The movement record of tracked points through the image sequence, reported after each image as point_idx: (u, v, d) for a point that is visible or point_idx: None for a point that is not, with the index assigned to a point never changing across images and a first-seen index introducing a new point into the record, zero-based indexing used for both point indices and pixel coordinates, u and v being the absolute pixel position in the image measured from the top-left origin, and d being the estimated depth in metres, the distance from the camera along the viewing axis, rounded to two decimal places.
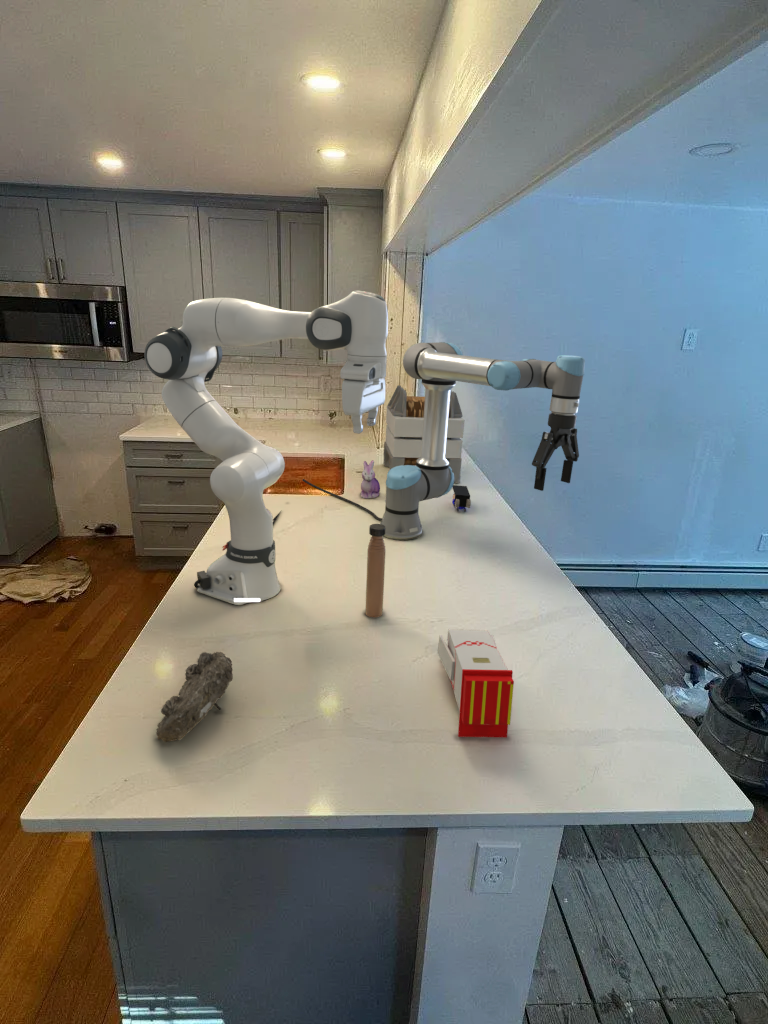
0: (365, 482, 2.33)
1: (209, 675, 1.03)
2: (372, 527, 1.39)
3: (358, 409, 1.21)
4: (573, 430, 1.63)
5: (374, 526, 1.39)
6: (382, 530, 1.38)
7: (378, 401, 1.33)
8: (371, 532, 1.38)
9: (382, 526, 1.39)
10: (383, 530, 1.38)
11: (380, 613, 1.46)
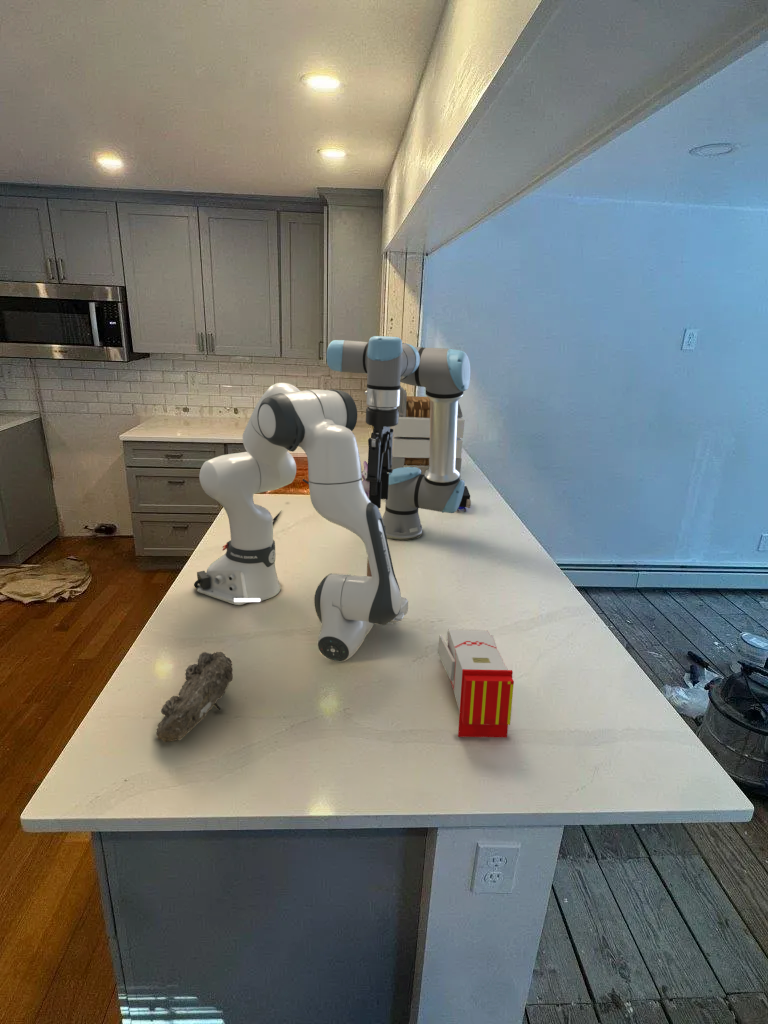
0: (365, 482, 2.33)
1: (209, 675, 1.03)
2: None
3: None
4: None
5: None
6: None
7: None
8: None
9: None
10: None
11: None
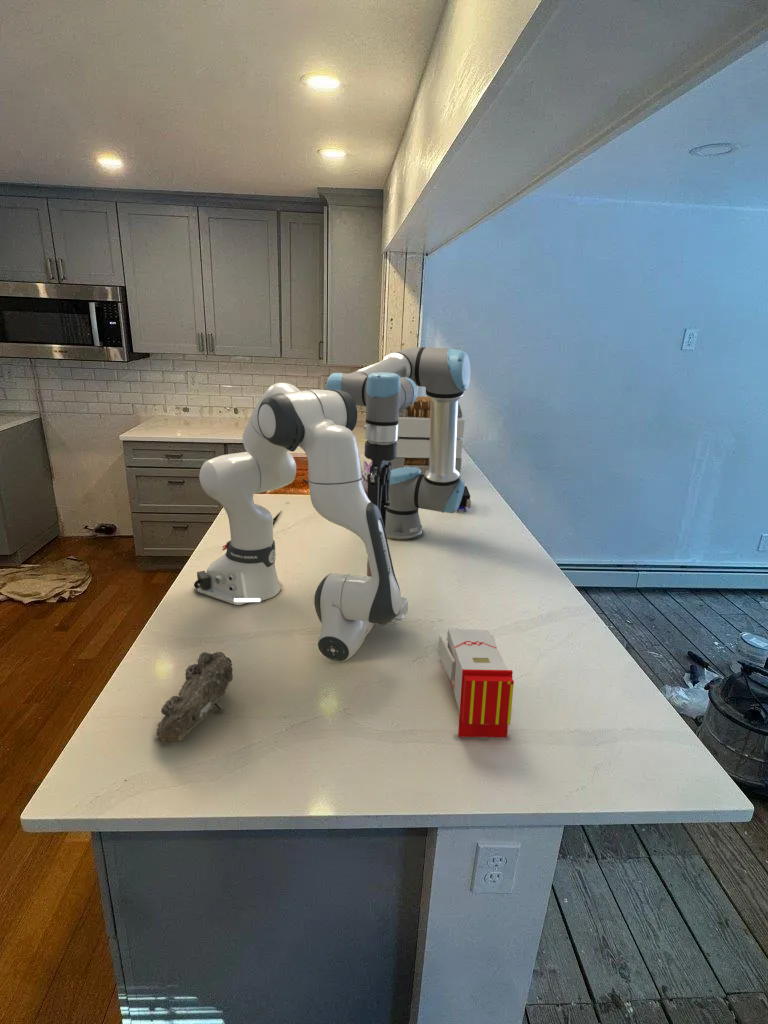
0: (365, 482, 2.33)
1: (209, 675, 1.03)
2: None
3: None
4: None
5: None
6: None
7: None
8: None
9: None
10: None
11: None
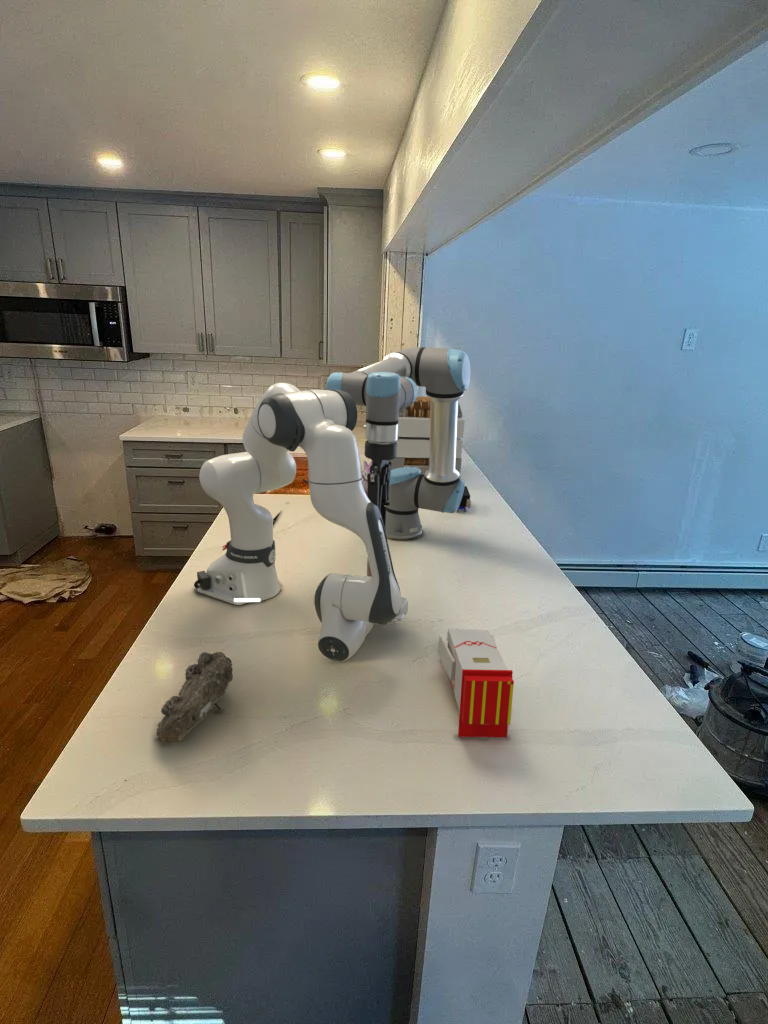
0: (365, 482, 2.33)
1: (209, 675, 1.03)
2: None
3: None
4: None
5: None
6: None
7: None
8: None
9: None
10: None
11: None
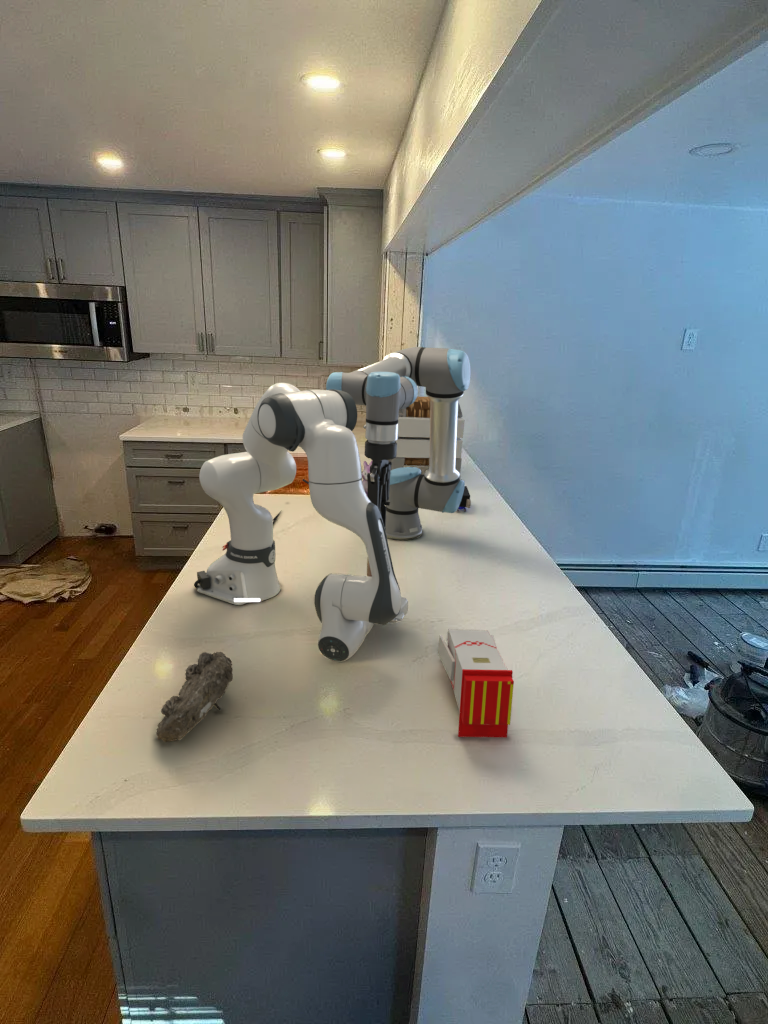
0: (365, 482, 2.33)
1: (209, 675, 1.03)
2: None
3: None
4: None
5: None
6: None
7: None
8: None
9: None
10: None
11: None
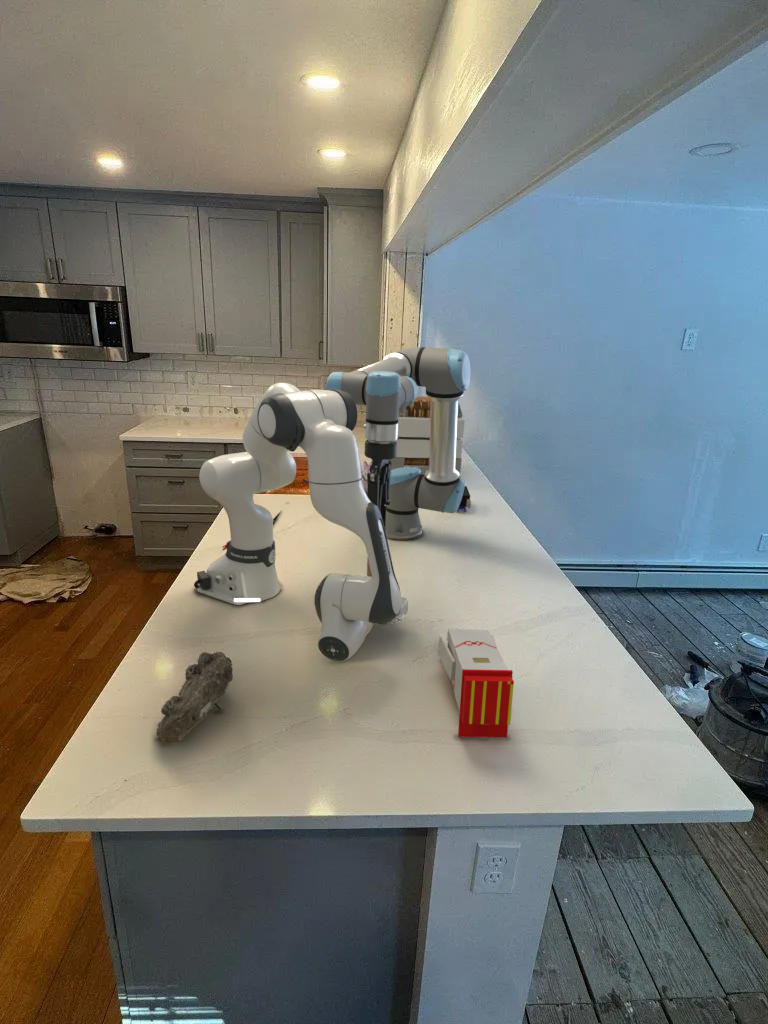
0: (365, 482, 2.33)
1: (209, 675, 1.03)
2: None
3: None
4: None
5: None
6: None
7: None
8: None
9: None
10: None
11: None
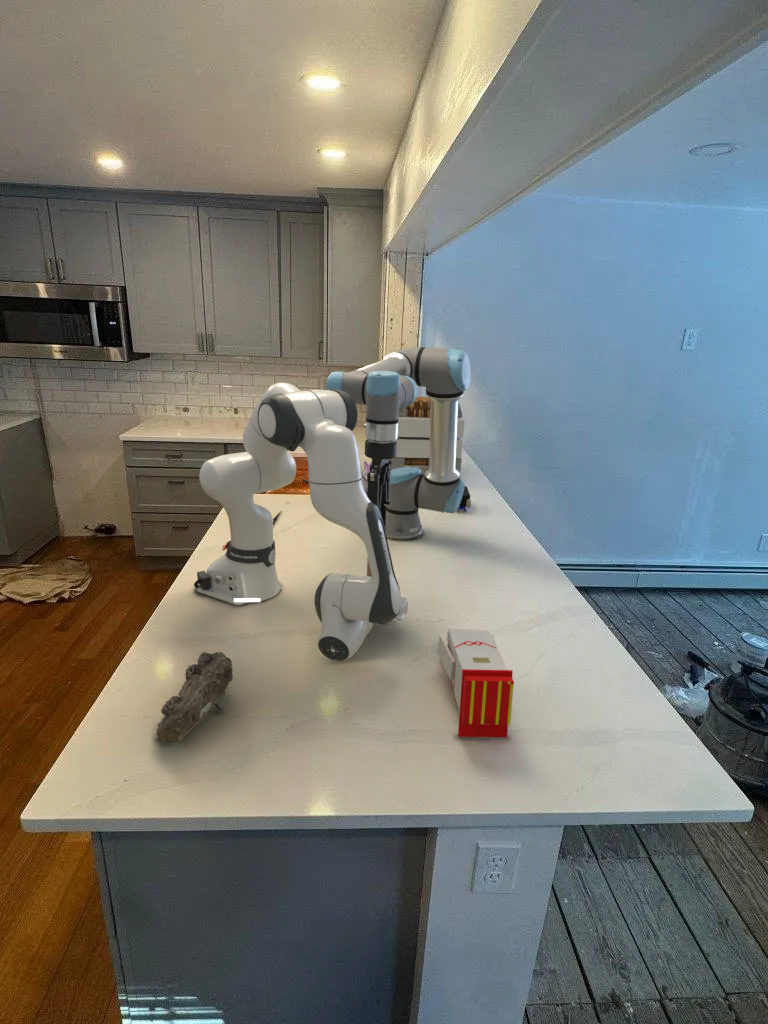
0: (365, 482, 2.33)
1: (209, 675, 1.03)
2: None
3: None
4: None
5: None
6: None
7: None
8: None
9: None
10: None
11: None
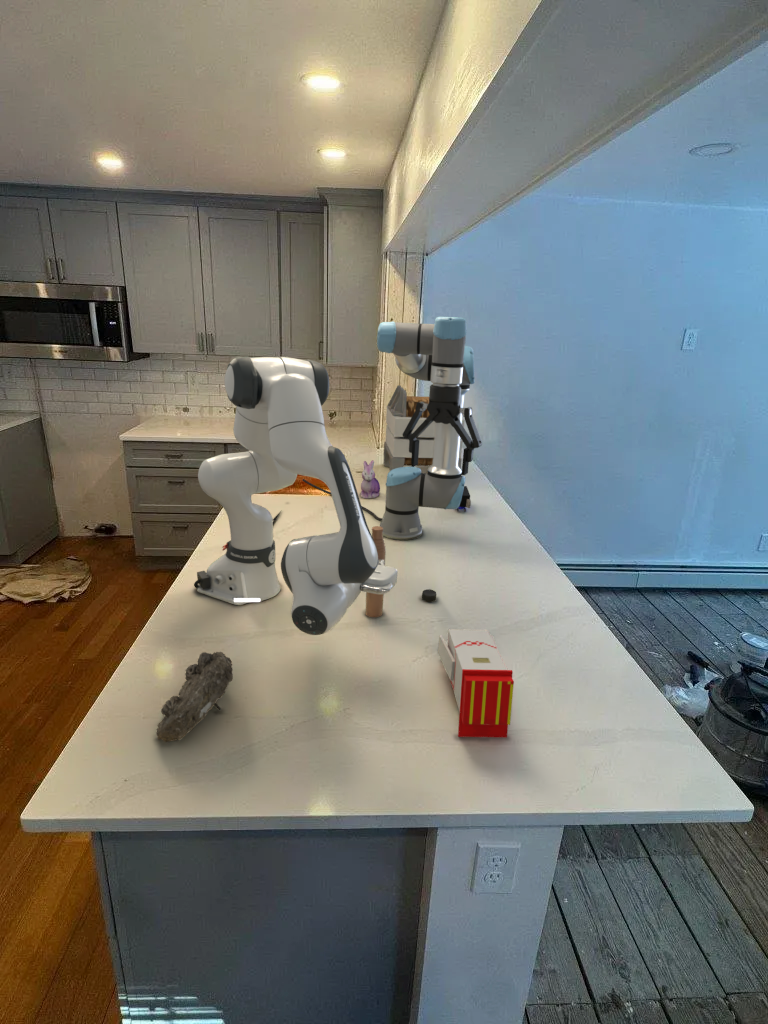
0: (365, 482, 2.33)
1: (209, 675, 1.03)
2: (433, 594, 1.54)
3: None
4: (465, 409, 1.35)
5: (430, 593, 1.55)
6: None
7: None
8: (435, 598, 1.55)
9: (427, 590, 1.56)
10: None
11: (380, 613, 1.46)
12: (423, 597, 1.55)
